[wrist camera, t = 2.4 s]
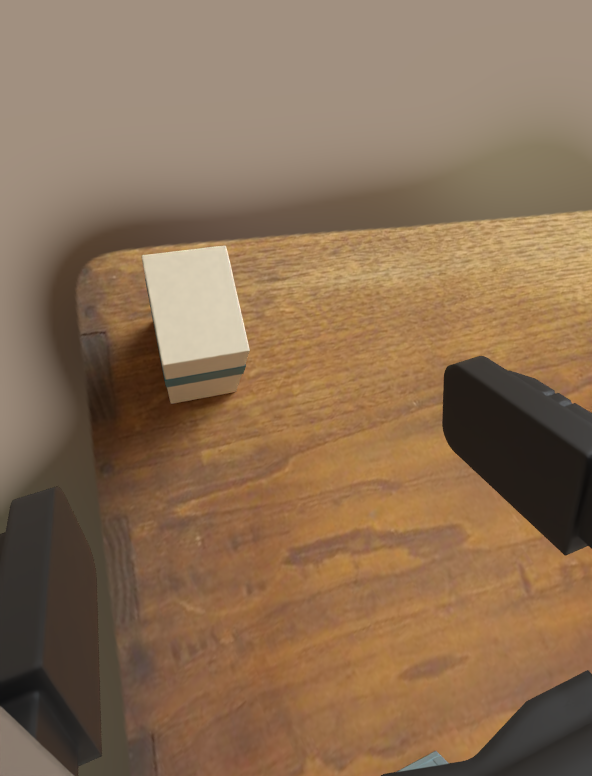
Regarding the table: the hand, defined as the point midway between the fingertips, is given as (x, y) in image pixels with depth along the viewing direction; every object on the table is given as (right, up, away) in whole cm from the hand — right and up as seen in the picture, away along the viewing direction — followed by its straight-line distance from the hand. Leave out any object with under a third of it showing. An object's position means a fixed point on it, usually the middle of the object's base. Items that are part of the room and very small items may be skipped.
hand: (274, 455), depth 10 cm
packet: (-6, +4, +24) cm, 25 cm away
